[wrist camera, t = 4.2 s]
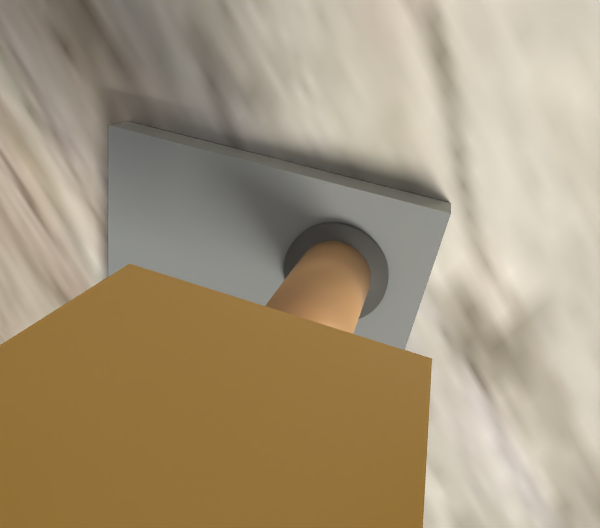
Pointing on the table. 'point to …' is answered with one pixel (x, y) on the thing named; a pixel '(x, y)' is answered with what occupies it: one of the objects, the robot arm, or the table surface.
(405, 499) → the domed push button
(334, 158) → the table surface
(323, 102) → the table surface
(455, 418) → the table surface
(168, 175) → the plate
